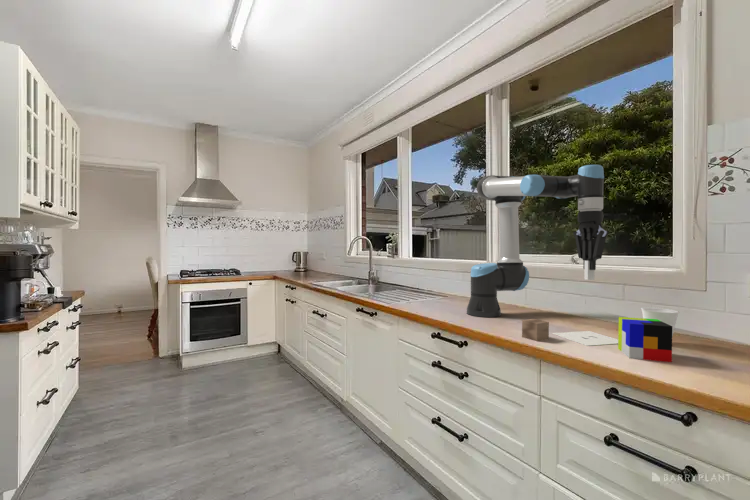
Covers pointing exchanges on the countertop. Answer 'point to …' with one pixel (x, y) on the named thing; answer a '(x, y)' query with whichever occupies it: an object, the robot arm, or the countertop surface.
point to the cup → (661, 315)
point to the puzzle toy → (645, 339)
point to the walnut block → (535, 329)
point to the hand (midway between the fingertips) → (589, 279)
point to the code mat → (588, 338)
